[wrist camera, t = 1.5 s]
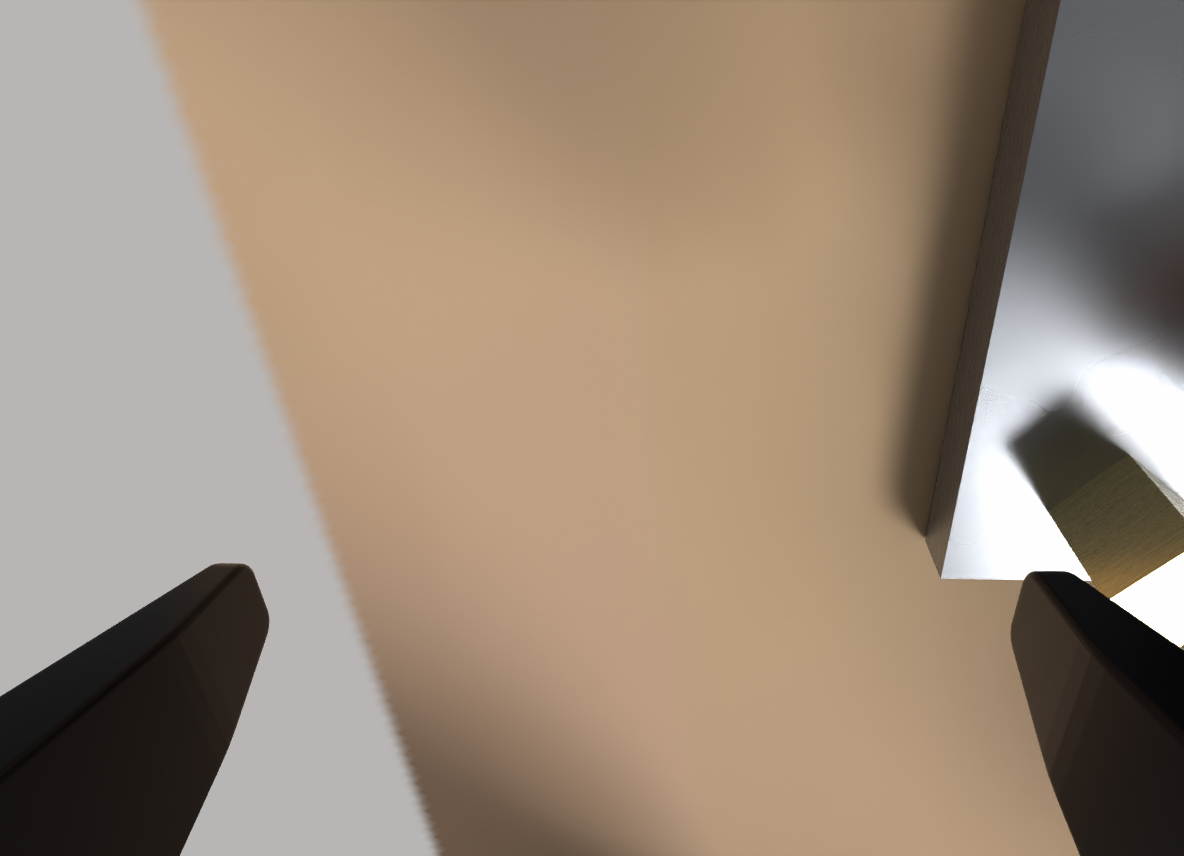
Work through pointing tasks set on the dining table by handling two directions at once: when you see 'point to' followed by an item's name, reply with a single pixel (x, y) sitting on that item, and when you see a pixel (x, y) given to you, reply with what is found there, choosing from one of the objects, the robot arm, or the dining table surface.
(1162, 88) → the hub plate
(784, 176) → the dining table surface
